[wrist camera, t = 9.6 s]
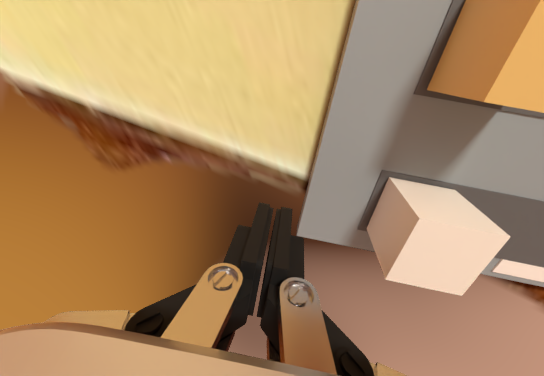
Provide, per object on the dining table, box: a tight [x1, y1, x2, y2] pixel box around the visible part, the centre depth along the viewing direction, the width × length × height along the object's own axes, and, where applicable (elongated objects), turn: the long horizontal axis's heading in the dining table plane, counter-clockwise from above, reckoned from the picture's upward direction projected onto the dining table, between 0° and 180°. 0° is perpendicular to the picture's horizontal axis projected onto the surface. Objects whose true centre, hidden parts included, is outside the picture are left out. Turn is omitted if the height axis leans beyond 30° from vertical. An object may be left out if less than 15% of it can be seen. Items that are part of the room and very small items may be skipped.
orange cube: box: [427, 0, 544, 113], centre depth 9 cm, size 4×4×4 cm
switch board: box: [297, 0, 544, 287], centre depth 14 cm, size 23×17×1 cm
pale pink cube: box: [367, 177, 510, 296], centre depth 13 cm, size 4×4×4 cm
